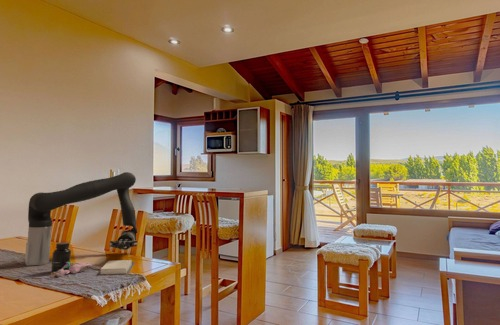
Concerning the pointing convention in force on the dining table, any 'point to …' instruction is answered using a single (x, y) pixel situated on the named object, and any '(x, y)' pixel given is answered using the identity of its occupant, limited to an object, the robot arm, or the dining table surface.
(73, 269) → the rabbit figure
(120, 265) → the tile
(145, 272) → the dining table surface
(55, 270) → the supplement bottle
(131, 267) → the mat
